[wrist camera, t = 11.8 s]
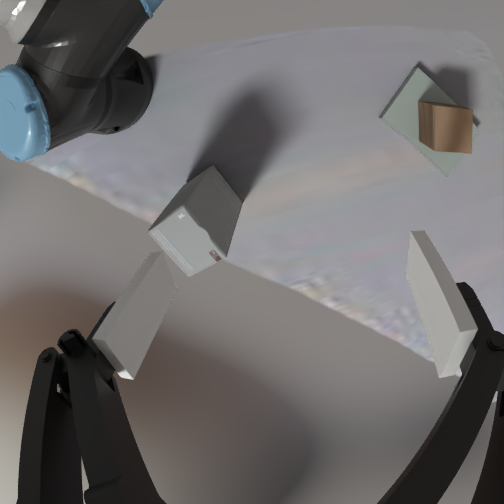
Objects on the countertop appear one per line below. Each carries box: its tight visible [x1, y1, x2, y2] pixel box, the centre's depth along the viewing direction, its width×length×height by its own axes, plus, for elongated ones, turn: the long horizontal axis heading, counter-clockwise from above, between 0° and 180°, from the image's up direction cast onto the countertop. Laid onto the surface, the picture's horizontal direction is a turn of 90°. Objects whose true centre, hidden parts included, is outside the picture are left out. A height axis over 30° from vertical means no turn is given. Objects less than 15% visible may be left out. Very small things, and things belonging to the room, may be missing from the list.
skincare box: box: [148, 165, 243, 277], centre depth 40 cm, size 8×7×16 cm
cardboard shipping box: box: [418, 101, 473, 154], centre depth 31 cm, size 6×6×6 cm
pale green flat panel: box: [379, 68, 480, 177], centre depth 32 cm, size 14×10×6 cm
